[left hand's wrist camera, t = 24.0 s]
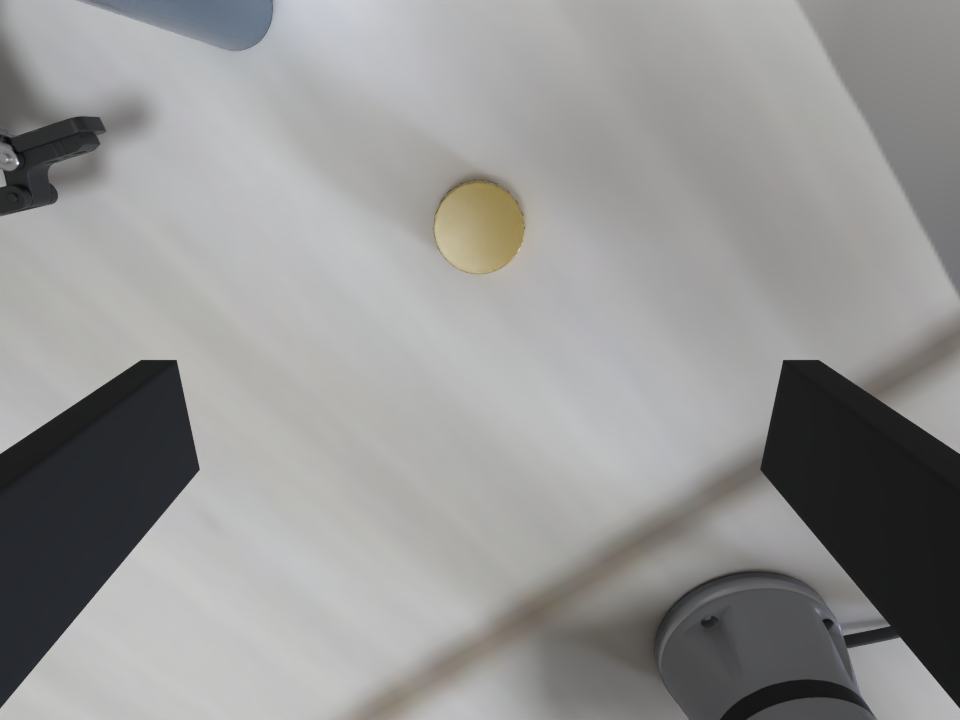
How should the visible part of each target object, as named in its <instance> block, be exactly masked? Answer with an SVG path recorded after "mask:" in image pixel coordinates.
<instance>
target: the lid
mask: <svg viewBox="0 0 960 720" xmlns="http://www.w3.org/2000/svg"><path fill="white" fill-rule="evenodd" d="M517 204H518V202H517V200H514V198H513V197H512V196H511V195H510V192H509V191H508V190H507V191H506V190H505V189H504V188H502V187H501V186H499V185H498V183H496V184H495V183H492V182H488V181H486V180H484V181H473V180H471V181H470V182H466V183H464V184H459V185H458V186H457V187H456V188H454V189H453V190H452V191H448V193H447V196H446V197H445V198H444V199H443V201H441V202H440V203H439V205H440V206H439V208H438V211H437V213H436V214H435V216H434V217H435V221H434V227H433V230H434V236H435V240H436V241H435V242H436V244H437V246H438V248H439V250H440V252H441V254H442V255H443V256H444V258H445V259H446V260H447V261H448V262H449V263H450V264H452V265H453V266H454V267H456V268H457V269H460V270H462V271H464V272H468V273H473V274H486V273H490V272H494V271H496V270H498V269H500V268H502V267H504V266H505V265H507V264H508V263H509V262H510V261H511V260H512V259H513V258H514V256H515V255H516V254H517V252H518V250H519V248H520V246H521V243H522V242H523V235H524V229H525V227H524V222H523V217H522V216H523V213H522V212H521V211H520V209H519V207H518V205H517Z"/></svg>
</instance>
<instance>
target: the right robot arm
mask: <svg viewBox="0 0 960 720" xmlns="http://www.w3.org/2000/svg"><path fill="white" fill-rule="evenodd" d="M105 132H106V129H105V127H104V125H103V123H102V121H101V119H100V117H74V118H70V119H67V120H64V121H61V122H58V123H55V124H52V125H48V126H45V127H42V128H39V129H36V130H33V131H30V132H27V133H24V134H21V135H18V136H14V135H11V134H9V131H7V130H5V129H2V128H0V169H2V170H3V171H4V175H5V179H6V184H7V186H5V187H1V188H0V216H4V215H8V214H12V213H16V212H20V211H24V210H29V209H33V208H37V207H41V206H45V205H50V204H53V203H55V202H56V201H57V198H58V193H57V191H56V189H55V187H54V186H53V185H51V184H50V183H49V181H48V169H49V167H50V166H51V165H52V164H54V163H57V162H60V161H63V160H66V159H69V158H72V157H75V156H78V155H81V154H84V153H88V152H91V151H94V150H95V149H96V148H97V147H98V146H99V145H100V142H99V140H98V138H97V136H96V135H99V134H102V133H105Z"/></svg>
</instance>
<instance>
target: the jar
mask: <svg viewBox="0 0 960 720" xmlns="http://www.w3.org/2000/svg"><path fill="white" fill-rule="evenodd" d="M77 1H80V2H83V3H86V4H89V5H92V6H95V7H98V8H101V9H104V10H107V11H110V12H113V13H116V14H119V15H122V16H125V17H128V18H131V19H134V20H137V21H140V22H143V23H146V24H149V25H152V26H156V27H159V28H162V29H165V30H168V31H171V32H174V33H177V34H180V35H183V36H186V37H189V38H192V39H195V40H198V41H201V42H204V43H207V44H210V45H213V46H216V47H219V48H222V49H225V50H231V51H239V50H244V49H247V48H250V47H252V46H254V45H255V44H257V43H258V42H259V41H260V40H261V39H262V38H263V37H264V35H265V34H266V32H267V30H268V28H269V25H270V22H271V18H272V0H77Z"/></svg>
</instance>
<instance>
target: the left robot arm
mask: <svg viewBox="0 0 960 720" xmlns="http://www.w3.org/2000/svg"><path fill="white" fill-rule="evenodd" d="M199 470H200V469H199V464H198V459H197V455H196V450H195V445H194V440H193V436H192V431H191V426H190V421H189V417H188V412H187V407H186V402H185V398H184V393H183V388H182V383H181V379H180V374H179V369H178V365H177V360H141V361H139V362H138V363H136V364H135V365H133V366H132V367H130V368H129V369H127V370H126V371H124V372H123V373H121V374H120V375H118V376H117V377H115V378H114V379H112V380H111V381H109V382H108V383H106V384H105V385H103V386H102V387H100V388H99V389H97V390H96V391H94V392H93V393H91V394H90V395H88V396H87V397H85V398H84V399H82V400H81V401H79V402H78V403H76V404H75V405H73V406H72V407H70V408H69V409H67V410H66V411H64V412H63V413H61V414H60V415H58V416H57V417H55V418H54V419H52V420H51V421H49V422H48V423H46V424H45V425H43V426H42V427H40V428H39V429H37V430H36V431H34V432H33V433H31V434H30V435H28V436H27V437H25V438H24V439H22V440H21V441H19V442H18V443H16V444H15V445H13V446H12V447H10V448H9V449H7V450H6V451H4V452H3V453H1V454H0V708H1V707H2V706H3V704H4V703H5V702H6V701H7V700H8V698H9V697H10V696H11V695H12V694H13V692H14V691H15V690H16V689H17V688H18V686H19V685H20V684H21V683H22V682H23V680H24V679H25V678H26V677H27V676H28V674H29V673H30V672H31V671H32V670H33V669H34V667H35V666H36V665H37V664H38V663H39V661H40V660H41V659H42V658H43V657H44V655H45V654H46V653H47V652H48V651H49V649H50V648H51V647H52V646H53V645H54V643H55V642H56V641H57V640H58V639H59V637H60V636H61V635H62V634H63V633H64V631H65V630H66V629H67V628H68V627H69V625H70V624H71V623H72V622H73V621H74V619H75V618H76V617H77V616H78V615H79V613H80V612H81V611H82V610H83V609H84V607H85V606H86V605H87V604H88V603H89V601H90V600H91V599H92V598H93V597H94V595H95V594H96V593H97V592H98V591H99V590H100V588H101V587H102V586H103V585H104V584H105V582H106V581H107V580H108V579H109V578H110V576H111V575H112V574H113V573H114V572H115V570H116V569H117V568H118V567H119V566H120V564H121V563H122V562H123V561H124V560H125V558H126V557H127V556H128V555H129V554H130V552H131V551H132V550H133V549H134V548H135V546H136V545H137V544H138V543H139V542H140V540H141V539H142V538H143V537H144V536H145V534H146V533H147V532H148V531H149V530H150V528H151V527H152V526H153V525H154V524H155V522H156V521H157V520H158V519H159V518H160V517H161V515H162V514H163V513H164V512H165V511H166V509H167V508H168V507H169V506H170V505H171V503H172V502H173V501H174V500H175V499H176V497H177V496H178V495H179V494H180V493H181V491H182V490H183V489H184V488H185V487H186V485H187V484H188V483H189V482H190V481H191V479H192V478H193V477H194V476H195V475H196V473H197V472H198V471H199ZM760 470H761V471H762V472H763V473H764V475H765V476H766V477H767V478H768V479H769V481H770V482H771V483H772V484H773V485H774V487H775V488H776V489H777V490H778V491H779V493H780V494H781V495H782V496H783V497H784V499H785V500H786V501H787V502H788V503H789V505H790V506H791V507H792V508H793V509H794V511H795V512H796V513H797V514H798V515H799V517H800V518H801V519H802V520H803V521H804V522H805V524H806V525H807V526H808V527H809V528H810V530H811V531H812V532H813V533H814V534H815V536H816V537H817V538H818V539H819V540H820V542H821V543H822V544H823V545H824V546H825V548H826V549H827V550H828V551H829V552H830V554H831V555H832V556H833V557H834V558H835V560H836V561H837V562H838V563H839V564H840V566H841V567H842V568H843V569H844V570H845V572H846V573H847V574H848V575H849V576H850V578H851V579H852V580H853V581H854V582H855V584H856V585H857V586H858V587H859V588H860V590H861V591H862V592H863V593H864V594H865V595H866V597H867V598H868V599H869V600H870V601H871V603H872V604H873V605H874V606H875V607H876V609H877V610H878V611H879V612H880V613H881V615H882V616H883V617H884V618H885V619H886V621H887V622H888V623H889V624H890V625H891V626H889V627H885V628H880V629H875V630H870V631H865V632H860V633H855V634H850V635H845V636H843V634H842V631H841V628H840V626H839V623H838V621H837V620H836V618H835V616H834V615H833V613H832V612H831V611H830V609H829V608H828V607H827V605H826V604H825V603H824V601H823V600H822V599H821V597H820V596H819V595H818V594H817V593H816V592H815V591H814V590H812V589H811V588H810V587H808V586H807V585H805V584H803V583H802V582H800V581H797V580H795V579H793V578H790V577H787V576H783V575H779V574H772V573H743V574H737V575H732V576H727V577H724V578H720V579H717V580H714V581H712V582H709V583H707V584H705V585H703V586H701V587H699V588H697V589H696V590H694V591H692V592H691V593H689V594H688V595H686V596H685V597H684V598H682V599H681V600H680V601H679V602H678V603H677V604H676V605H675V606H674V607H673V608H672V609H671V610H670V611H669V613H668V614H667V615H666V617H665V618H664V620H663V621H662V623H661V625H660V627H659V630H658V632H657V636H656V640H655V657H656V661H657V665H658V668H659V671H660V674H661V677H662V680H663V682H664V684H665V687H666V688H667V690H668V692H669V693H670V694H671V696H672V697H673V698H674V700H675V701H676V702H677V703H678V704H679V706H680V707H681V709H682V710H683V711H684V713H685V714H686V715H687V717H688V718H689V720H877V719H876V718H875V716H874V715H873V713H872V712H871V710H870V709H869V707H868V706H867V704H866V703H865V701H864V700H863V698H862V697H861V695H860V691H859V688H858V685H857V681H856V678H855V675H854V671H853V668H852V664H851V661H850V658H849V654H848V651H847V648H852V647H857V646H862V645H867V644H872V643H876V642H881V641H886V640H891V639H895V638H899V637H901V639H902V640H903V641H904V642H905V643H906V645H907V646H908V647H909V648H910V649H911V651H912V652H913V653H914V654H915V655H916V657H917V658H918V659H919V660H920V661H921V663H922V664H923V665H924V666H925V667H926V669H927V670H928V671H929V672H930V673H931V674H932V676H933V677H934V678H935V679H936V680H937V682H938V683H939V684H940V685H941V686H942V688H943V689H944V690H945V691H946V692H947V694H948V695H949V696H950V697H951V698H952V700H953V701H954V702H955V703H956V704H957V706H958V707H959V708H960V454H959V453H957V452H956V451H954V450H953V449H951V448H950V447H948V446H947V445H945V444H944V443H942V442H941V441H939V440H938V439H936V438H935V437H933V436H932V435H930V434H929V433H927V432H926V431H924V430H923V429H921V428H920V427H918V426H917V425H915V424H914V423H912V422H911V421H909V420H908V419H906V418H905V417H903V416H902V415H900V414H899V413H897V412H896V411H894V410H893V409H891V408H890V407H888V406H887V405H885V404H884V403H882V402H881V401H879V400H878V399H876V398H875V397H873V396H872V395H870V394H869V393H867V392H866V391H864V390H863V389H861V388H860V387H858V386H857V385H855V384H854V383H852V382H851V381H849V380H848V379H846V378H845V377H843V376H842V375H840V374H839V373H837V372H836V371H834V370H833V369H831V368H830V367H828V366H827V365H825V364H824V363H822V362H821V361H819V360H783V365H782V369H781V374H780V379H779V383H778V388H777V393H776V398H775V402H774V407H773V412H772V417H771V421H770V426H769V431H768V436H767V440H766V445H765V450H764V455H763V459H762V464H761V469H760Z"/></svg>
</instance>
